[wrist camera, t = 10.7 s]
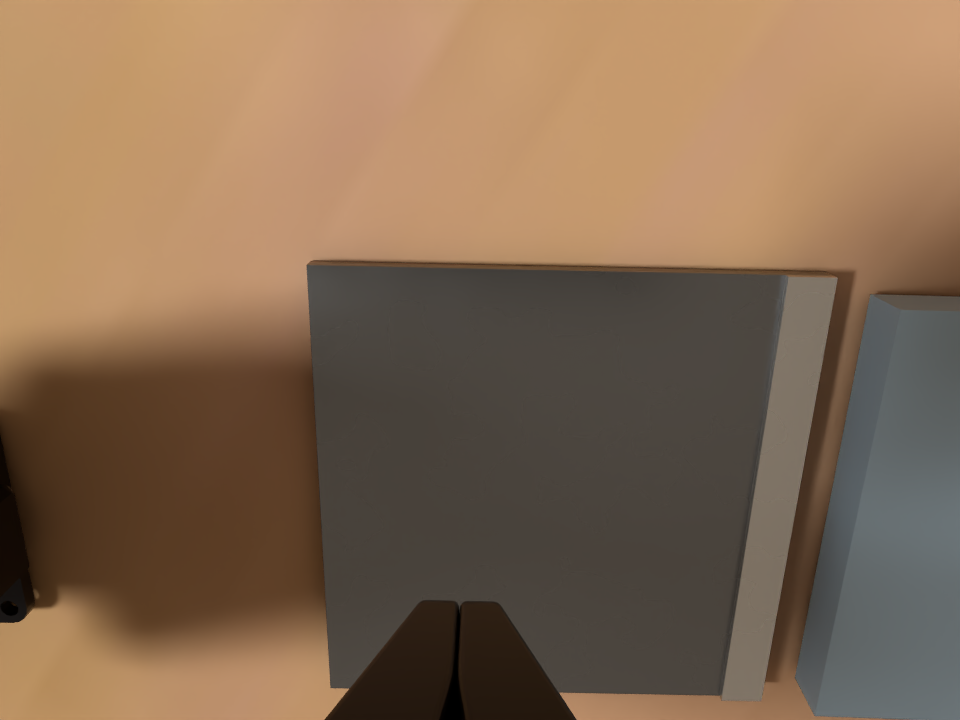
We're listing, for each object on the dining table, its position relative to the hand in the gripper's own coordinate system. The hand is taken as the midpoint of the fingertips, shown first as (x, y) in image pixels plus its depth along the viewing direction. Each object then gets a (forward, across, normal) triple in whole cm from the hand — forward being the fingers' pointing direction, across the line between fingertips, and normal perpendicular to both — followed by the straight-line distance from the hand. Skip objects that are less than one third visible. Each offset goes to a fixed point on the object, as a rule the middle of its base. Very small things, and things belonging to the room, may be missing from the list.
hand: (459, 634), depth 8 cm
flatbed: (+12, -2, +5) cm, 13 cm away
